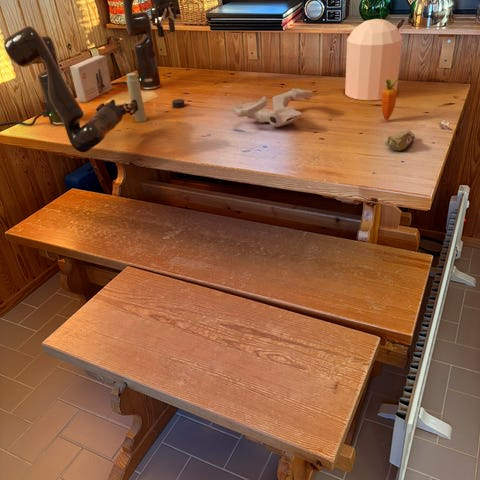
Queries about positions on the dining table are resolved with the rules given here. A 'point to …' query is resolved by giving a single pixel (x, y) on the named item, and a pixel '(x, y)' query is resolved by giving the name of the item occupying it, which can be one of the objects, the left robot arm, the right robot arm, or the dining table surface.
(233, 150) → the dining table surface
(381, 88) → the container
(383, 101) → the carrot
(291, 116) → the beige irregular branched piece
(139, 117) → the jar
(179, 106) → the lid
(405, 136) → the rock
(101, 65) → the skincare box
